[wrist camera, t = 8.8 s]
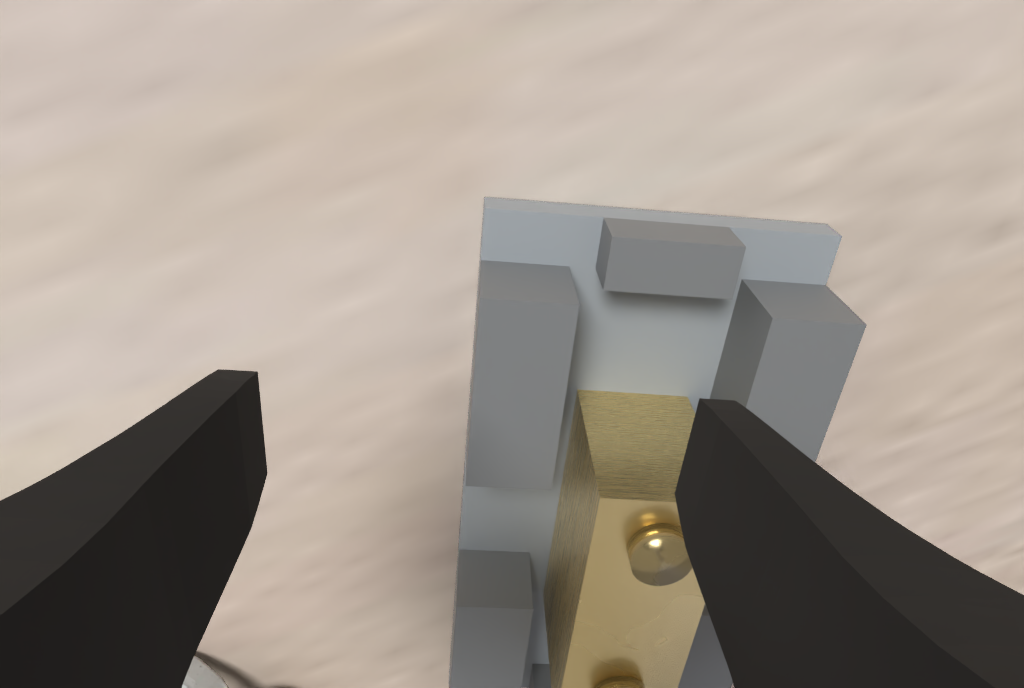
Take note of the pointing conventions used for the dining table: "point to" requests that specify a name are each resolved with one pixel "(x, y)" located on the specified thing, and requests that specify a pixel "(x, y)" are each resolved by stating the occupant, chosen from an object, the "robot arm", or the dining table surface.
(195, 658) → the ceramic mug
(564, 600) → the link
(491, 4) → the dining table surface
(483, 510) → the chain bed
